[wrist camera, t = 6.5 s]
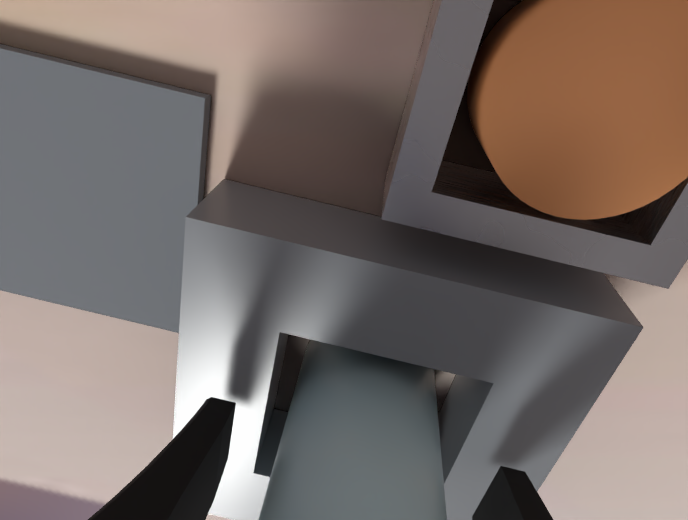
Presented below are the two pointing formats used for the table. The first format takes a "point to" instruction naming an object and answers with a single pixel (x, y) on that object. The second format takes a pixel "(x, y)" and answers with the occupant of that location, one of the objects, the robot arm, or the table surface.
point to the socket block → (389, 333)
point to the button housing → (488, 189)
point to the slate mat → (97, 186)
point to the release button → (585, 103)
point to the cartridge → (358, 441)
